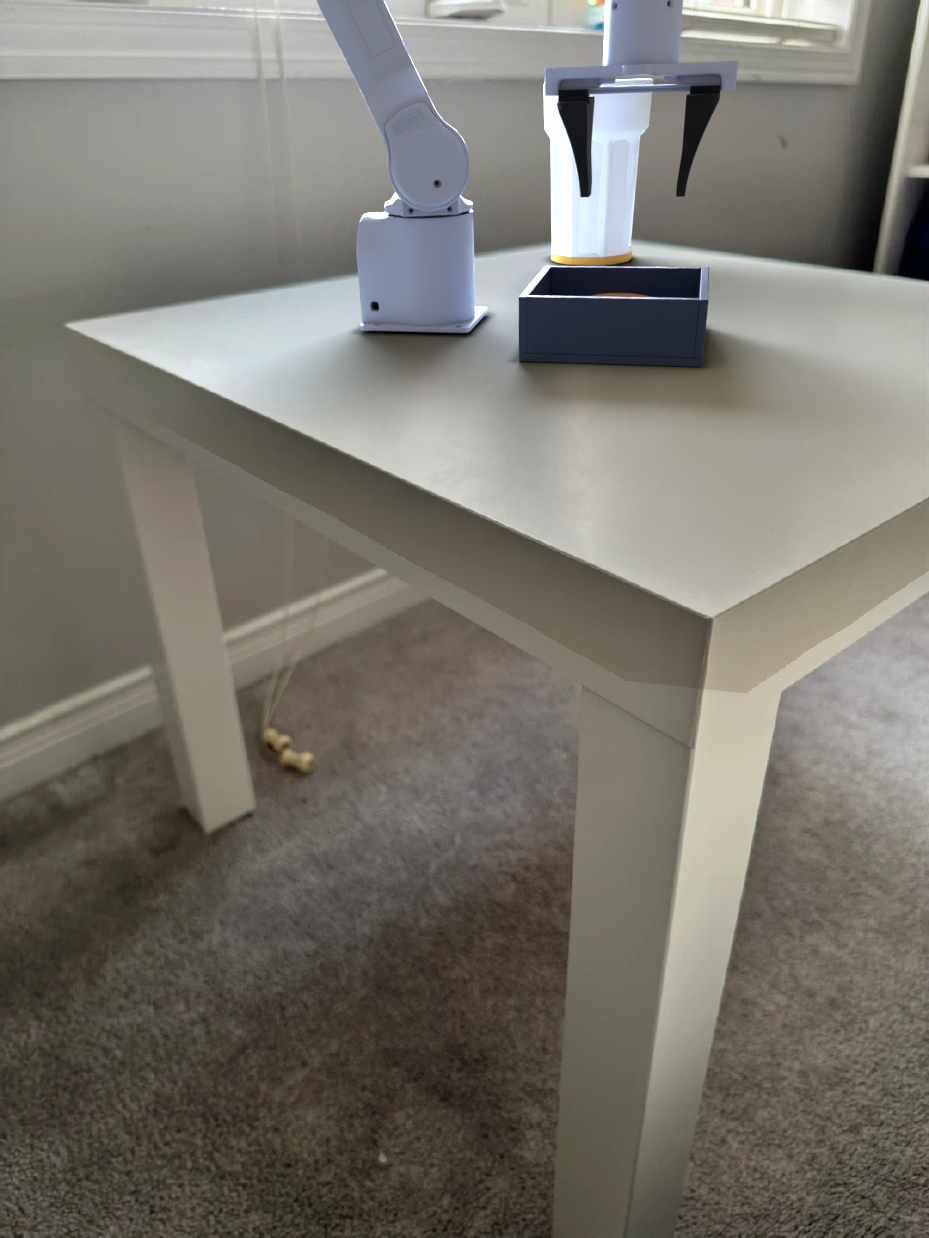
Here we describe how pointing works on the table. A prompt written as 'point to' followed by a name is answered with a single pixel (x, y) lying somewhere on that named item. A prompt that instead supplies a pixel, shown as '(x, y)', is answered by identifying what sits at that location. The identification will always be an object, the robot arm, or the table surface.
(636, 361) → the tub
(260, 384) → the table surface
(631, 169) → the cup
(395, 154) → the robot arm
